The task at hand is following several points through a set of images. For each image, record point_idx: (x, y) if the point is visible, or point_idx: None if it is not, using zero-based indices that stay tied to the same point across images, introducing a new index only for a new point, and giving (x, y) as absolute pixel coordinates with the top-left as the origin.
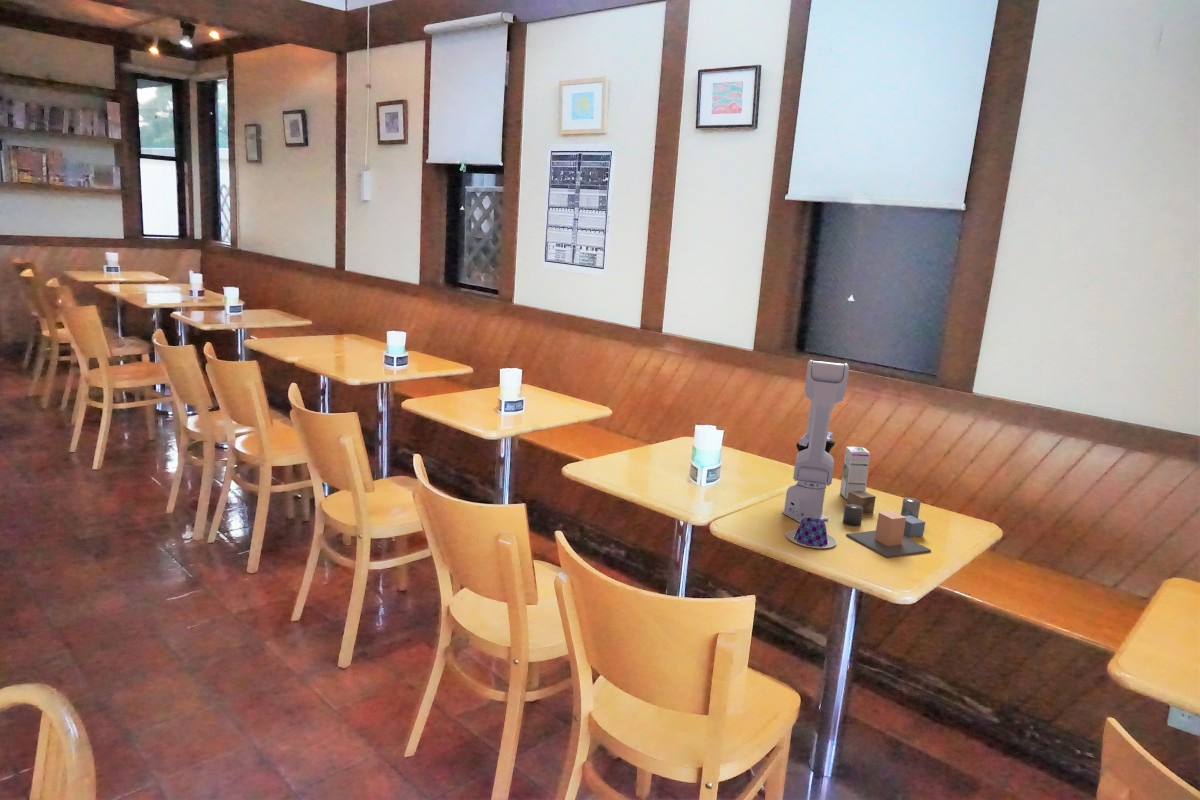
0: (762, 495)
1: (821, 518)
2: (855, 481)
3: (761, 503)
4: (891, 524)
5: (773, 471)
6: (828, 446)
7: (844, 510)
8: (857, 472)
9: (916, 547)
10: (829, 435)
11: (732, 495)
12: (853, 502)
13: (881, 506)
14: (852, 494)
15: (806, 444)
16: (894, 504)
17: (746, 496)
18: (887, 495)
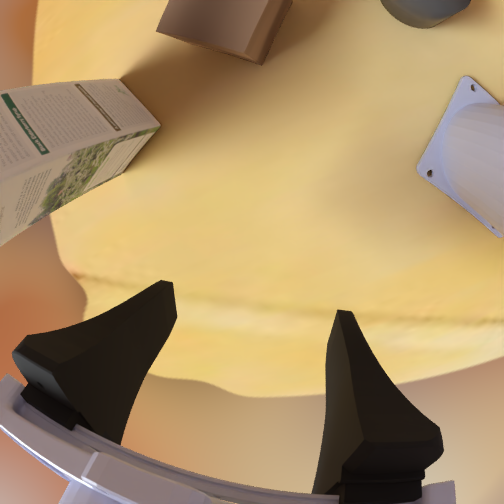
0: (372, 339)
1: (487, 99)
2: (93, 111)
3: (447, 312)
4: None
5: (148, 370)
6: (84, 364)
7: (450, 16)
8: (58, 115)
9: None
10: (33, 451)
11: (423, 377)
12: (269, 25)
13: (121, 17)
14: (257, 27)
15: (441, 496)
16: (76, 19)
17: (411, 359)
18: (32, 85)
